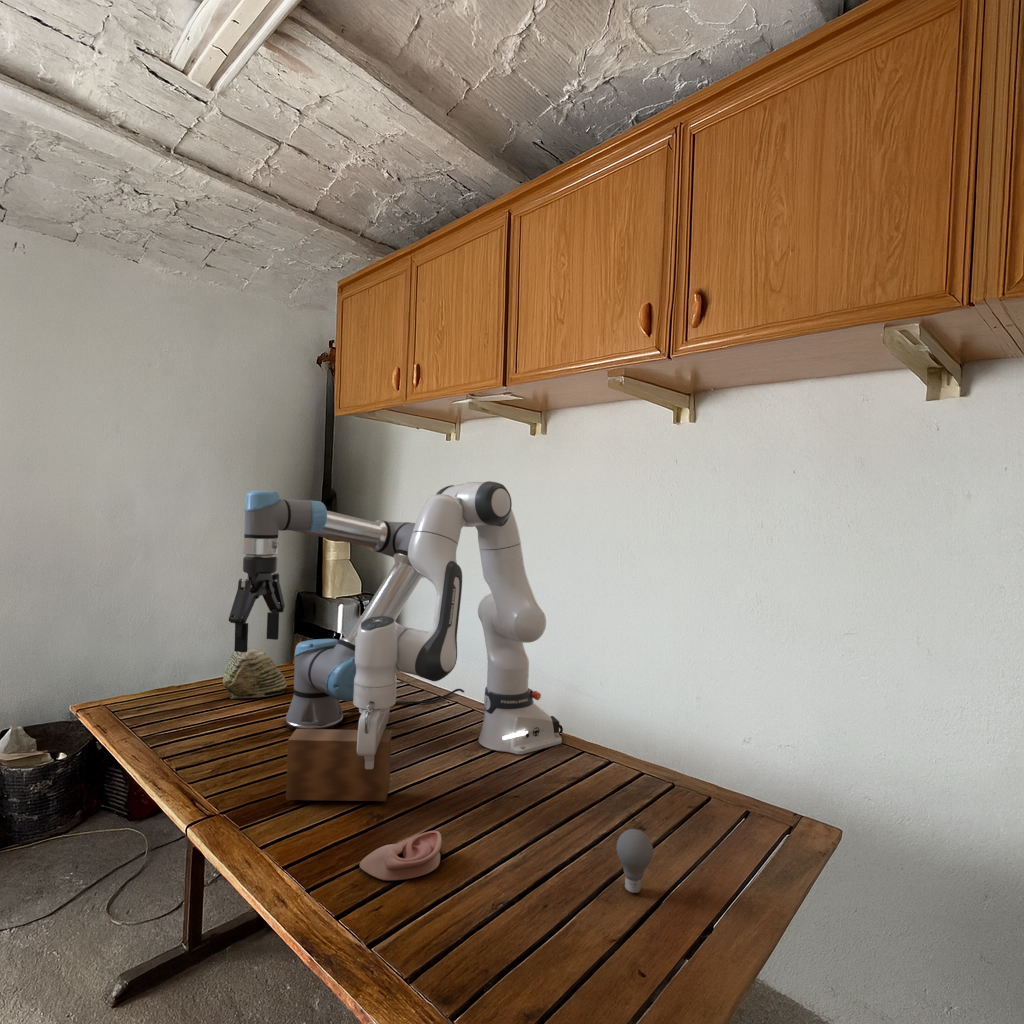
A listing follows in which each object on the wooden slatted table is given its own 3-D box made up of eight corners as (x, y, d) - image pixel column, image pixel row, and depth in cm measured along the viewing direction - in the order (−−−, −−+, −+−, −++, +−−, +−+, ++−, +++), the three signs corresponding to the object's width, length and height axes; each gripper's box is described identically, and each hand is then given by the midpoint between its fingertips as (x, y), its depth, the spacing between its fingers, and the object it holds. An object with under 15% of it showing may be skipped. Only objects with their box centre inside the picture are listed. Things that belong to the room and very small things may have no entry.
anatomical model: (352, 851, 106) (379, 818, 118) (351, 875, 106) (379, 839, 118) (427, 864, 104) (448, 829, 115) (426, 888, 104) (447, 850, 115)
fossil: (218, 695, 195) (220, 647, 195) (278, 685, 208) (279, 640, 207) (228, 703, 189) (230, 653, 188) (289, 692, 201) (290, 645, 201)
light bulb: (610, 879, 108) (613, 822, 108) (644, 879, 109) (647, 822, 109) (619, 902, 102) (622, 840, 102) (655, 901, 103) (658, 840, 103)
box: (285, 800, 130) (287, 739, 129) (294, 786, 136) (296, 728, 136) (385, 801, 131) (387, 741, 131) (389, 787, 137) (391, 730, 137)
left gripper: (245, 561, 137) (241, 659, 137) (300, 552, 161) (297, 635, 162) (213, 559, 138) (210, 656, 138) (273, 551, 163) (270, 633, 163)
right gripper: (383, 712, 123) (380, 782, 123) (395, 681, 144) (393, 741, 144) (350, 711, 123) (347, 782, 123) (367, 680, 143) (365, 741, 143)
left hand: (257, 645), depth 150 cm, fingers open, 13 cm apart
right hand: (372, 760), depth 134 cm, fingers closed on box, 6 cm apart
